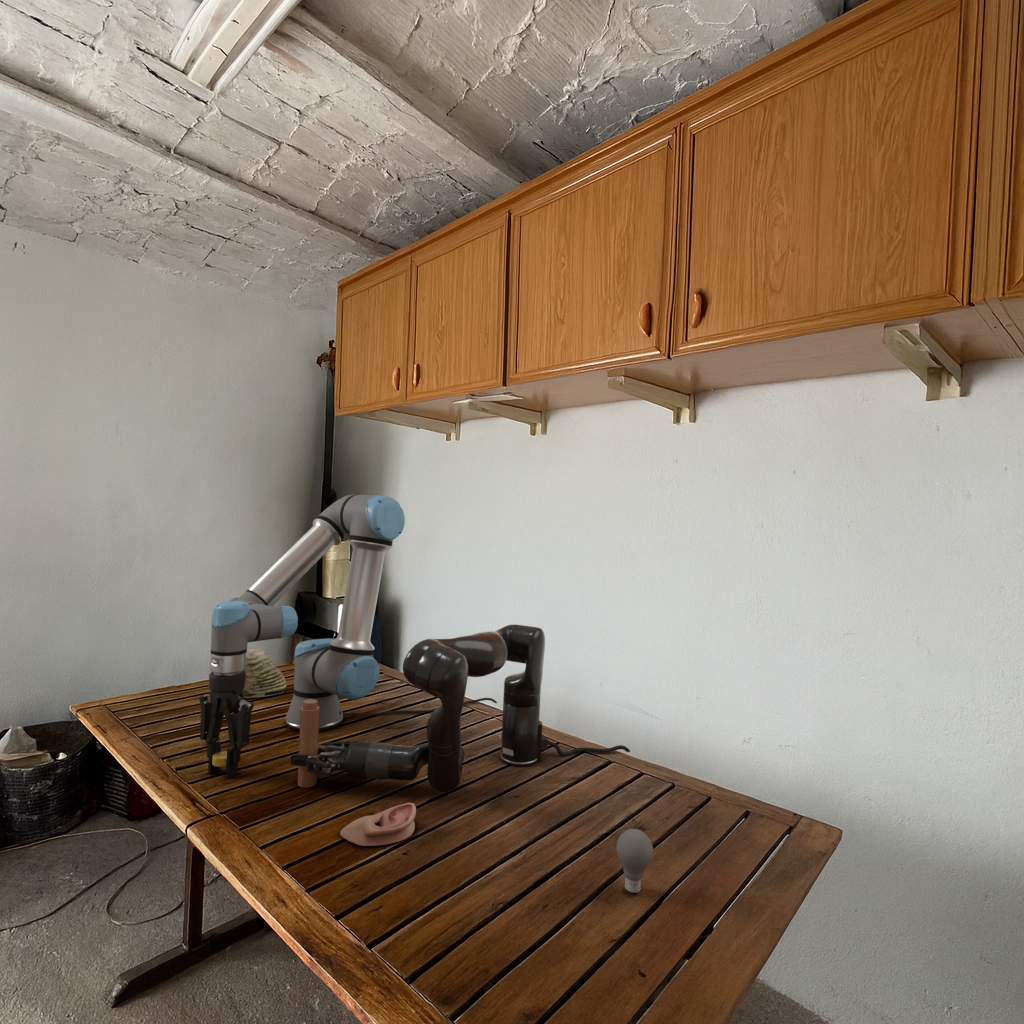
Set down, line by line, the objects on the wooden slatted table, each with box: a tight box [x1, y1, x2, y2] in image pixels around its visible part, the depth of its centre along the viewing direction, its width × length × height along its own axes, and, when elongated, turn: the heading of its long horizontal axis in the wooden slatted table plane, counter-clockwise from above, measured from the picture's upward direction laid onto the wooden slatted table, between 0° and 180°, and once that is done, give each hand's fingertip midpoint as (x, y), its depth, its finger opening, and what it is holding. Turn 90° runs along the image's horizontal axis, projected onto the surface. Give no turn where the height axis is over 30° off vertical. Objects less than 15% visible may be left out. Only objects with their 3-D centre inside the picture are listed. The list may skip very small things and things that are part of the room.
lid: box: [212, 750, 227, 768], centre depth 142 cm, size 4×4×2 cm
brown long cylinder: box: [297, 699, 320, 789], centre depth 139 cm, size 4×4×18 cm
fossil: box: [242, 647, 288, 699], centre depth 198 cm, size 9×18×15 cm, turn 132°
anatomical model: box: [339, 802, 417, 847], centre depth 121 cm, size 13×4×12 cm
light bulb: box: [615, 828, 654, 894], centre depth 106 cm, size 6×6×10 cm
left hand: (222, 774), depth 142 cm, fingers closed on lid, 4 cm apart
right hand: (296, 755), depth 140 cm, fingers closed on brown long cylinder, 4 cm apart
